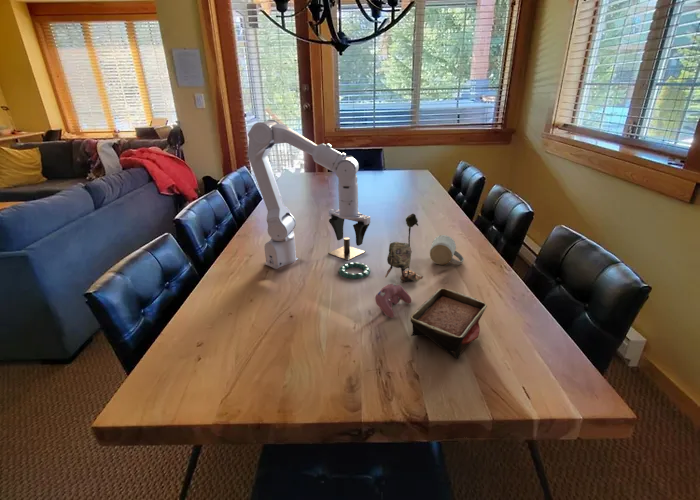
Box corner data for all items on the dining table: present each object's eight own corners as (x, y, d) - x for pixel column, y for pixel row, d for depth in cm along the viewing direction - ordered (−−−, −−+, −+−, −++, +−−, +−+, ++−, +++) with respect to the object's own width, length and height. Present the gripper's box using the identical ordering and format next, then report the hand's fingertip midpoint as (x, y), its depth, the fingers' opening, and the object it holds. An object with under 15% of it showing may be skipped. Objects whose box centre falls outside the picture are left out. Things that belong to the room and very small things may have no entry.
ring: (356, 284, 108) (356, 278, 107) (332, 275, 114) (332, 269, 113) (376, 273, 115) (376, 267, 114) (352, 264, 120) (352, 258, 120)
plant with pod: (383, 274, 114) (384, 211, 106) (420, 274, 114) (424, 211, 106) (385, 287, 106) (387, 221, 98) (425, 287, 106) (430, 220, 98)
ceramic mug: (427, 264, 119) (430, 242, 116) (431, 254, 126) (433, 233, 123) (462, 269, 116) (465, 246, 113) (463, 258, 123) (466, 237, 120)
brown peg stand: (348, 263, 121) (347, 245, 119) (328, 256, 127) (327, 239, 124) (365, 254, 127) (365, 237, 125) (345, 248, 133) (345, 231, 130)
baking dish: (490, 339, 87) (495, 299, 84) (455, 370, 74) (460, 323, 71) (434, 321, 96) (438, 284, 94) (395, 345, 83) (397, 303, 80)
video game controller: (400, 303, 101) (391, 279, 100) (414, 302, 98) (404, 277, 97) (379, 320, 94) (369, 294, 93) (393, 318, 91) (383, 292, 90)
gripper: (376, 199, 109) (376, 242, 114) (338, 192, 117) (339, 233, 123) (362, 205, 104) (362, 250, 109) (323, 198, 112) (325, 240, 118)
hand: (349, 241), depth 116 cm, fingers open, 7 cm apart
